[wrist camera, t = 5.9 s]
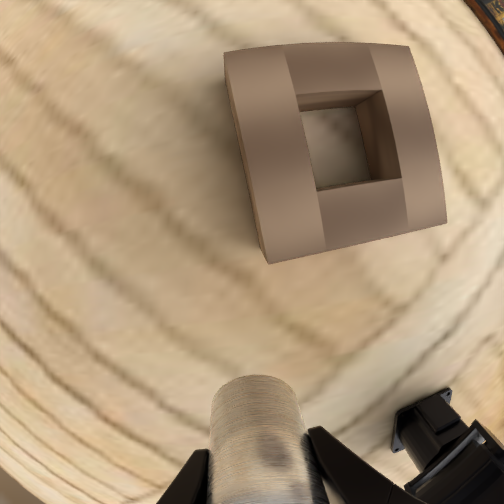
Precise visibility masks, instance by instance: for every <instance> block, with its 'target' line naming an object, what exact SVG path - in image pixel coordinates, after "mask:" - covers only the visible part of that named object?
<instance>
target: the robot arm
mask: <svg viewBox="0 0 504 504" xmlns="http://www.w3.org/2000/svg"><path fill="white" fill-rule="evenodd" d="M451 395H452V390H451V389H450V388H447V389H445V390H443V391H441V392H439V393H437V394H435V395H433V396H430V397H428V398H426V399H424V400H422V401H420V402H417V403H415V404H413V405H411V406H408V407H406V408H404V409H401V410H399V411H398V412H397V413H396V416H395V425H394V433H393V440H392V446H391V451H392V452H393V453H396V452H399V451H401V450H403V449H405V450H406V451H407V453H408V454H409V456H410V458H411V459H412V461H413V462H414V464H415V465H416V467H417V469H418V470H419V472H420V474H419V475H418V476H417V477H415V478H414V479H413V480H412V481H410V482H408V483H406V484H405V485H404V488H405V490H403V489H402V488H400V487H399V486H397V485H396V484H394V483H393V482H392V481H390V480H389V479H388V478H386V477H385V476H384V475H382V474H381V473H379V472H378V471H377V470H375V469H374V468H373V467H372V466H370V465H369V464H368V463H366V462H365V461H364V460H362V459H361V458H360V457H359V456H357V455H356V454H355V453H354V452H352V451H351V450H350V449H349V448H347V447H346V446H345V445H344V444H342V443H341V442H340V441H339V440H337V439H336V438H335V437H334V436H333V435H331V434H330V433H329V432H328V431H327V430H325V429H324V428H323V427H322V426H317V427H313V428H309V429H308V436H309V439H310V442H311V446H312V449H313V452H314V455H315V458H316V461H317V464H318V468H319V471H320V474H321V477H322V480H323V483H324V486H325V490H326V493H327V496H328V499H329V502H330V504H504V446H503V444H502V443H501V442H500V441H499V440H498V439H497V438H496V437H495V436H494V435H493V434H492V433H491V432H490V431H489V430H488V429H487V428H486V427H485V426H484V425H482V424H481V423H480V422H479V421H477V420H476V419H475V420H474V421H473V422H472V423H471V424H472V425H471V426H470V427H468V426H467V425H466V424H465V423H464V422H463V421H462V420H461V417H460V416H459V414H458V413H457V412H456V411H455V410H454V409H453V408H452V407H451V406H450V405H449V404H450V400H451ZM485 440H486V442H485V443H484V444H482V443H483V442H484V441H485ZM208 459H209V450H208V449H199V450H195V451H194V452H193V454H192V455H191V457H190V458H189V459H188V461H187V462H186V464H185V465H184V466H183V468H182V469H181V471H180V472H179V473H178V475H177V476H176V478H175V479H174V480H173V482H172V483H171V484H170V486H169V487H168V489H167V490H166V491H165V493H164V494H163V495H162V497H161V498H160V499H159V501H158V502H157V503H156V504H206V501H207V479H208ZM393 484H394V485H393Z"/></svg>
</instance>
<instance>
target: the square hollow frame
mask: <svg viewBox="0 0 504 504" xmlns="http://www.w3.org/2000/svg"><path fill="white" fill-rule="evenodd" d="M224 69H225V82H226V86H227V91H228V95H229V100H230V105H231V109H232V114H233V119H234V123H235V128H236V133H237V137H238V142H239V147H240V152H241V156H242V161H243V166H244V171H245V175H246V180H247V185H248V190H249V195H250V199H251V204H252V209H253V214H254V219H255V224H256V228H257V233H258V238H259V243H260V248H261V251H262V253H263V255H264V257H265V259H266V261H267V263H268V264H273V263H277V262H282V261H287V260H291V259H296V258H300V257H305V256H309V255H314V254H318V253H322V252H327V251H331V250H336V249H340V248H345V247H349V246H353V245H358V244H362V243H366V242H371V241H375V240H379V239H383V238H388V237H392V236H396V235H400V234H405V233H409V232H413V231H417V230H421V229H426V228H430V227H434V226H438V225H442V224H446V223H447V213H446V203H445V194H444V187H443V179H442V173H441V166H440V160H439V155H438V149H437V144H436V139H435V134H434V130H433V125H432V121H431V117H430V113H429V109H428V105H427V101H426V98H425V94H424V91H423V87H422V84H421V81H420V77H419V74H418V71H417V68H416V65H415V62H414V59H413V57H412V54H411V51H410V48H409V46H401V45H390V44H376V43H352V42H325V43H300V44H286V45H275V46H266V47H257V48H250V49H243V50H236V51H230V52H225V53H224ZM343 107H355V108H356V112H357V116H358V120H359V124H360V128H361V133H362V137H363V142H364V147H365V151H366V156H367V161H368V167H369V172H370V178H371V180H366V181H360V182H353V183H347V184H341V185H335V186H329V187H324V188H318V189H316V186H315V181H314V176H313V171H312V166H311V161H310V156H309V151H308V147H307V142H306V138H305V133H304V129H303V124H302V120H301V116H300V112H303V111H311V110H321V109H331V108H343Z"/></svg>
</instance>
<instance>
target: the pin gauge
mask: <svg viewBox="0 0 504 504" xmlns="http://www.w3.org/2000/svg"><path fill="white" fill-rule="evenodd" d="M206 504H330V502H329V499H328V496H327V493H326V490H325V486H324V483H323V480H322V477H321V474H320V471H319V468H318V464H317V461H316V458H315V455H314V452H313V449H312V446H311V442H310V439H309V436H308V433H307V430H306V427H305V423H304V420H303V417H302V414H301V411H300V408H299V405H298V401H297V398H296V395H295V393H294V391H293V390H292V388H291V387H290V386H289V385H288V384H286V383H285V382H283V381H282V380H280V379H277V378H275V377H271V376H266V375H249V376H243V377H239V378H237V379H234V380H232V381H230V382H228V383H227V384H225V385H224V386H222V387H221V388H220V389H219V390H218V392H217V393H216V394H215V396H214V398H213V401H212V410H211V425H210V441H209V459H208V479H207V501H206Z"/></svg>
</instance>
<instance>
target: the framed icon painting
mask: <svg viewBox="0 0 504 504" xmlns="http://www.w3.org/2000/svg"><path fill="white" fill-rule="evenodd" d="M464 1H465V2H466V4H467V5H468V6H469V7H470V8H471V10H472V11H473V12H474V14H475V15H476V16H477V17H478V19H479V20H480V21H481V23H482V24H483V25H484V27H485V28H486V29H487V31H488V32H489V34H490V35H491V37H492V38H493V39H494V41H495V42H496V44H497V45H498V47H499V48H500V50H501V52H502V53H503V55H504V0H464Z"/></svg>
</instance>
